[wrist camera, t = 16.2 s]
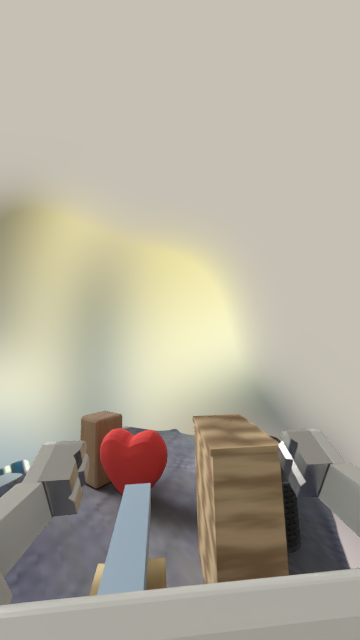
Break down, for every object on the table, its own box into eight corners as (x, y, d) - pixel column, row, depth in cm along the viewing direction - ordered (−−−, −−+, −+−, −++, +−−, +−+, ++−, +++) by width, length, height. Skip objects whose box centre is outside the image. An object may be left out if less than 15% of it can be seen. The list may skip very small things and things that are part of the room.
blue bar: (133, 826, 13) (133, 732, 13) (54, 841, 12) (58, 744, 13) (150, 510, 38) (150, 483, 39) (125, 512, 38) (125, 484, 38)
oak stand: (298, 656, 31) (281, 445, 35) (219, 667, 30) (210, 449, 34) (247, 544, 50) (239, 414, 53) (196, 549, 49) (192, 416, 52)
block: (77, 481, 77) (80, 416, 80) (104, 468, 85) (105, 410, 88) (95, 491, 71) (97, 420, 74) (122, 476, 79) (123, 413, 82)
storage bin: (305, 557, 47) (298, 482, 49) (206, 540, 51) (204, 473, 53) (281, 481, 74) (278, 435, 76) (219, 475, 79) (217, 432, 81)
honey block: (169, 735, 20) (167, 632, 21) (71, 752, 20) (74, 643, 21) (166, 629, 28) (165, 557, 29) (96, 638, 27) (98, 563, 29)
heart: (172, 497, 67) (171, 426, 69) (161, 518, 58) (161, 436, 61) (109, 488, 72) (110, 423, 75) (91, 506, 64) (93, 432, 66)
